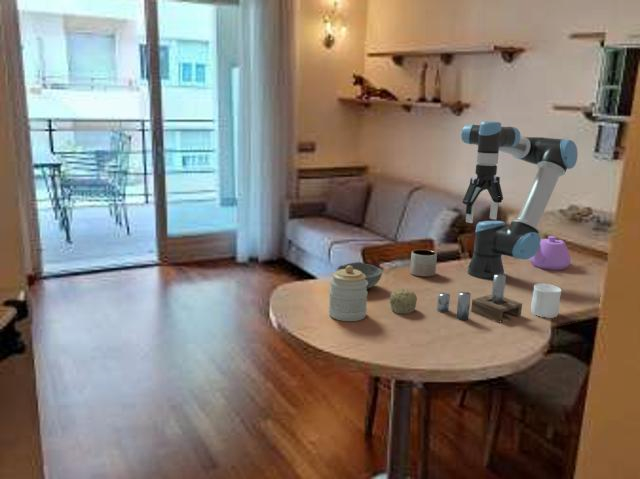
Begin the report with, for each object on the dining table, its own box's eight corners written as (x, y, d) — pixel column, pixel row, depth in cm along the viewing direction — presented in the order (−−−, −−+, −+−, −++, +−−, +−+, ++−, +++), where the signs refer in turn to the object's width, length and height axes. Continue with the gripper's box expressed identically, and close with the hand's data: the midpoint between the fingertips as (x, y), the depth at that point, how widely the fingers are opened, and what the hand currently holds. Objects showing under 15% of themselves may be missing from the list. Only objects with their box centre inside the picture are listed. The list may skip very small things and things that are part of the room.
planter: (435, 278, 247) (437, 256, 244) (409, 276, 249) (410, 254, 246) (435, 271, 257) (437, 250, 255) (410, 269, 259) (411, 248, 257)
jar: (356, 325, 194) (358, 273, 190) (321, 317, 200) (323, 266, 196) (372, 313, 205) (375, 264, 201) (339, 305, 211) (341, 258, 207)
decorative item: (392, 315, 214) (379, 296, 209) (411, 297, 216) (399, 278, 211) (406, 325, 206) (392, 305, 201) (426, 306, 207) (413, 286, 203)
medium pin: (461, 315, 205) (464, 290, 203) (470, 319, 202) (473, 294, 200) (453, 317, 203) (456, 292, 201) (462, 321, 200) (465, 296, 198)
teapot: (545, 257, 285) (548, 230, 282) (579, 266, 272) (583, 237, 269) (514, 265, 270) (517, 236, 267) (549, 275, 257) (553, 244, 254)
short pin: (442, 307, 212) (443, 291, 211) (450, 311, 209) (452, 295, 208) (434, 309, 210) (436, 293, 209) (443, 313, 207) (444, 297, 205)
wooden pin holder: (493, 305, 216) (494, 293, 215) (520, 315, 207) (522, 303, 206) (471, 311, 209) (472, 299, 208) (498, 322, 200) (500, 309, 199)
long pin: (495, 310, 211) (499, 273, 208) (504, 314, 208) (508, 276, 204) (487, 312, 209) (491, 274, 205) (496, 316, 205) (501, 277, 202)
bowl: (348, 297, 220) (349, 277, 218) (328, 283, 236) (329, 264, 234) (390, 292, 227) (391, 272, 225) (368, 279, 243) (369, 260, 241)
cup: (543, 320, 203) (547, 293, 201) (523, 310, 212) (526, 284, 210) (564, 316, 207) (568, 290, 205) (543, 307, 216) (546, 282, 214)
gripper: (500, 161, 228) (494, 215, 233) (455, 164, 213) (450, 222, 218) (516, 164, 222) (510, 219, 227) (472, 166, 207) (466, 225, 212)
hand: (481, 220), depth 223 cm, fingers open, 13 cm apart
